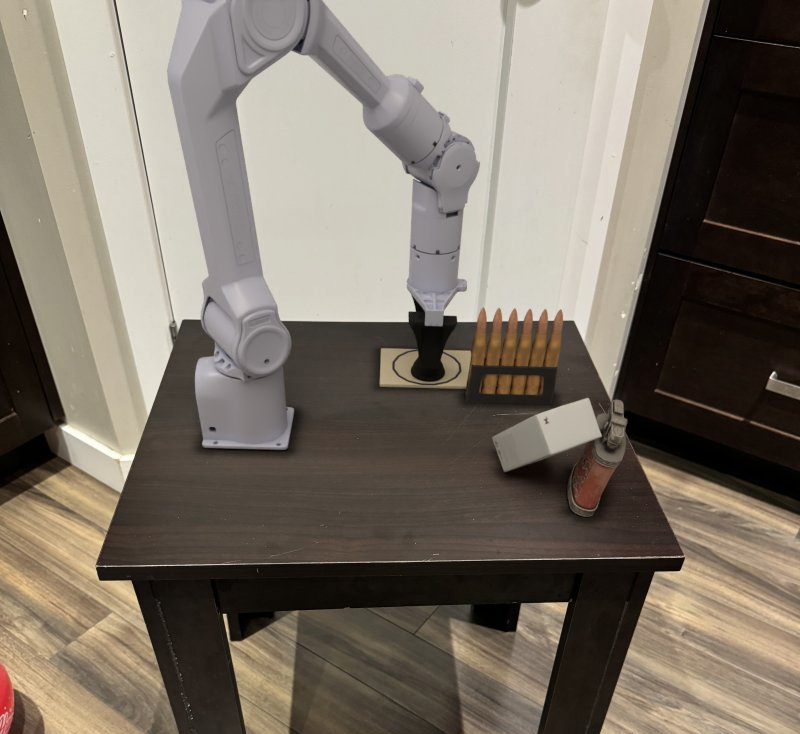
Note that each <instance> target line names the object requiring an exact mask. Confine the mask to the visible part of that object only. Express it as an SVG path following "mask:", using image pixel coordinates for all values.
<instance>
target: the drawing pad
mask: <svg viewBox="0 0 800 734" xmlns="http://www.w3.org/2000/svg"><path fill="white" fill-rule="evenodd" d="M471 352H472V350H462V349H461V350H455V349H444V350H443V354H442V357H441V362H442V363H443V367H444V369H445V375H444V377H443V378H442V379H440V380H438V381H433V382H425V381H421V380H418V379H416V378H414V377H413V376H412V374H411V367H412V366H413V364H414V362H415V360H416V359H417V358H418V348H392V347H391V348H389V347H386V348H385V347H381V348H380V365H379V366H380V369H379V387H380V388H382V387H383V388H385V387H386V388H414V389H415V388H417V389H447V390H449V389H450V390H451V389H452V390H453V389H454V390H466V385H467V379H468V373H469V367H470V361H471Z"/></svg>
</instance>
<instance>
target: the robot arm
mask: <svg viewBox="0 0 800 734" xmlns="http://www.w3.org/2000/svg"><path fill="white" fill-rule="evenodd" d="M180 1H181V9H180V13H179V17H178V21H177V26H176V31H175V34H174V38H173V43H172V45H171V46H172V47H171V52H170V54H169V59H168V63H167V68H166V74H167V76H166V77H167V83H168V89H169V95H170V97H171V103H172V108H173V112H174V117H175V118H174V119H175V123H176V127H177V132H178V137H179V142H180V145H181V150H182V156H183V160H184V164H185V170H186V174H187V179H188V184H189V188H190V193H191V198H192V203H193V207H194V213H195V216H196V221H197V226H198V231H199V236H200V240H201V246H202V250H203V254H204V261H205V265H206V268H207V273H208V276H207V277H205V279H203V280H202V282H201V287H202V293H203V302H202V305H201V309H200V323H201V327H202V329H203V331H204V332H205V334H206V335H207V336H208V337H209V338H210V339H212V340H213V341H214V351H213V355H211V356H203V357H200V358H198V360H197V362H196V366H195V371H194V372H195V373H194V392H195V400H196V405H197V411H198V417H199V423H200V429H201V435H202V443H201V446H202V447H203V448H205V449H229V450H230V449H234V450H235V449H237V450H271V451H272V450H275V451H286V450H287V449H288V448H289V443H290V437H291V433H292V427H293V421H294V415H295V408H293V407H290V406H287V400H286V386H285V375H284V365H285V364H286V362H287V360H288V358H289V357H290V355H291V350H292V337H291V334H290V331H289V330H288V328H287V327H286V326H285V324H284V323H283V322H282V320H281V318H280V316H279V309H278V304H277V302H276V300H275V298H274V295H273V293H272V291H271V290H270V287H269V286H268V283H267V281H266V280H265V276H264V271H263V265H262V260H261V259H262V258H261V253H260V252H261V251H260V247H259V239H258V235H257V228H256V222H255V216H254V210H253V209H254V207H253V203H252V196H251V190H250V189H251V188H250V183H249V178H248V177H249V176H248V171H247V165H246V158H245V153H244V145H243V139H242V134H241V127H240V120H239V116H238V115H239V114H238V107H237V101H238V99H239V96H241V94H242V93H243V91H244V90H245V89H246V88H247V86H248V85H249V83H250V82H251V81H252V80H253V79H254V78H256V77H257V76H258V75H260V74H261V73H263V72H264V71H266V70H267V69H269V67H271V66H273V65H274V64H275V63H277V62H278V61H280V60H281V59H283V58H284V57H285V56H286V55H288V54H289V53H290V52H292V53H293V52H294V53H296V54H298V55H300V56H307V57H309V58H310V59H311V60H312V61H313V62H315V63H316V64H317V65H318V66H319V67H320V68H321V69H323V70H324V71H325V72H326V73H327V74H328V75H329V76H330V77H331V78H332V79H333V80H334V81H335V82H337V83H338V84H339V85H340V86H341V87H342V88H343V89H345V90H346V91H347V92H348V93H349V94H350V95H351V96H352V97H353V98H355V99H356V101H358V102H359V103H360V104H361V105H362V121H363V124H364V127H366V129H367V130H368V131H369V132H370V133H371V134H372V135H374V137H376V138H377V139H378V141H380V143H382V144H383V145H384V146H385V147H386V148H387V149H388V150H389V151H390V152H391V153H392V154H393V155H394V156H395V157H396V158H398V159H399V161H401V163H402V164H401V165H402V168H403V171H404V172H405V174H407V175H410V176H411V177H413V178H412V188H411V189H412V191H411V213H410V215H411V217H410V236H409V237H410V241H409V261H408V264H409V265H408V277H407V279H406V289H407V291H408V292H409V294H410V295H411V298H412V301H413V305H414V310H415V311H408V313H407V314H408V317H407V318H408V319H407V321H408V324H409V328H411V331H412V332H413V335H414V338H415V341H416V346H417V349H418V356H419V362H420V366H421V368H432V369H437V368H438V366H439V363H440V361H441V357H442V354H443V350H445V347H446V344H447V342H448V339H449V338H450V336H451V335H452V333H453V332H454V331H455V329H456V328H457V325H458V317H457V315H445V314H444V313H445V310H446V308H447V307H448V306H449V304H450V303H451V302H452V300H453V299H454V297H455V296H456V294H457V293H461V292H463V293H464V292H467V290H468V282H467V281H468V280H466V279H464V278H458V277H459V265H460V254H461V244H462V234H463V233H462V232H463V222H464V221H463V220H464V209H465V208H466V204H468V198H469V192H470V189H471V187H472V185H473V184H474V182H476V181H475V180H476V178H477V176H478V175H479V172H480V167H481V162H480V161H478V160H477V155H476V152H475V150H476V149H475V146H474V144H473V143H472V140H470V139H469V138H468V137H467V136H465V135H463V134H460V133H458V132H456V131H453V130H452V128H451V126H450V122H451V119H450V117H449V116H448V115H447V113H445V112H443V111H441V110H439V111H437V110H436V108H434V107H433V105H432V104H431V103H430V102H429V101H428V100H427V98H426V97H425V96H424V95H423V94H422V92H423V90H424V89H425V87H424V85H423V84H422V82H421V81H420V80H419V79H417V78H415V77H412V76H410V75H409V76H407V77H406V76H405V75H404V74H399V73H396V74H389V75H386V74H385V73H384V72H383V70H381V68H380V67H379V66H378V65H377V63H376V62H375V61H374V60H373V59H372V57H371V56H370V55H369V54H368V53H367V52H366V51H365V49H364V48H363V46H362V45H360V43H359V42H358V41H357V40H356V38H355V37H353V35H352V34H351V33H350V32H349V31H348V29H347V28H346V27H345V26H344V24H343V23H342V22H341V21H340V20H339V18H338V17H337V16H336V15H335V14H334V13H333V12H332V10H331V9H330V8H329V7H328V5H327V4H326V3H325V1H324V0H180Z"/></svg>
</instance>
